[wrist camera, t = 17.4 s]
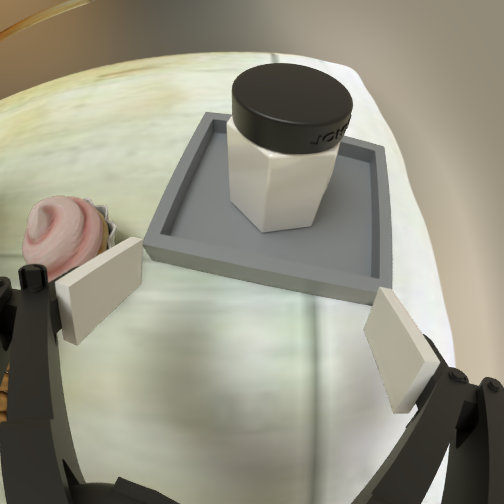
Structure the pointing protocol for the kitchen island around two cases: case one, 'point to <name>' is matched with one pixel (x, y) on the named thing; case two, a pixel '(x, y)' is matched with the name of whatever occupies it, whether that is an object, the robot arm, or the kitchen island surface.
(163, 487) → the kitchen island surface
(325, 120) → the jar
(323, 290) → the tray
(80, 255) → the cupcake
